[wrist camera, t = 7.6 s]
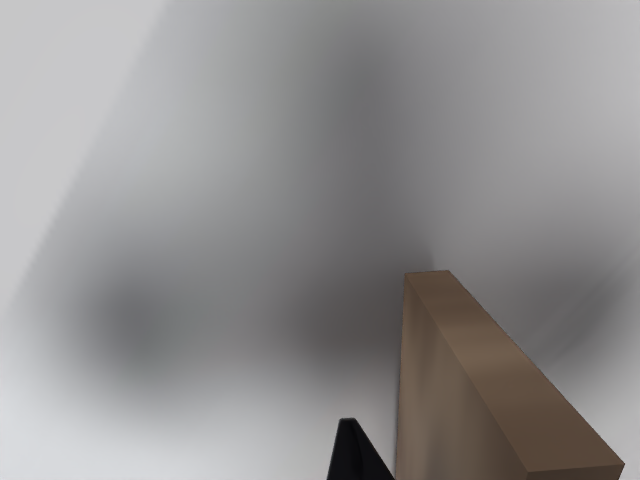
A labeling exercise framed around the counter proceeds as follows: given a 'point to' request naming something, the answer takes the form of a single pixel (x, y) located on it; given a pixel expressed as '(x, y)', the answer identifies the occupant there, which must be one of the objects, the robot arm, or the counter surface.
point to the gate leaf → (482, 399)
